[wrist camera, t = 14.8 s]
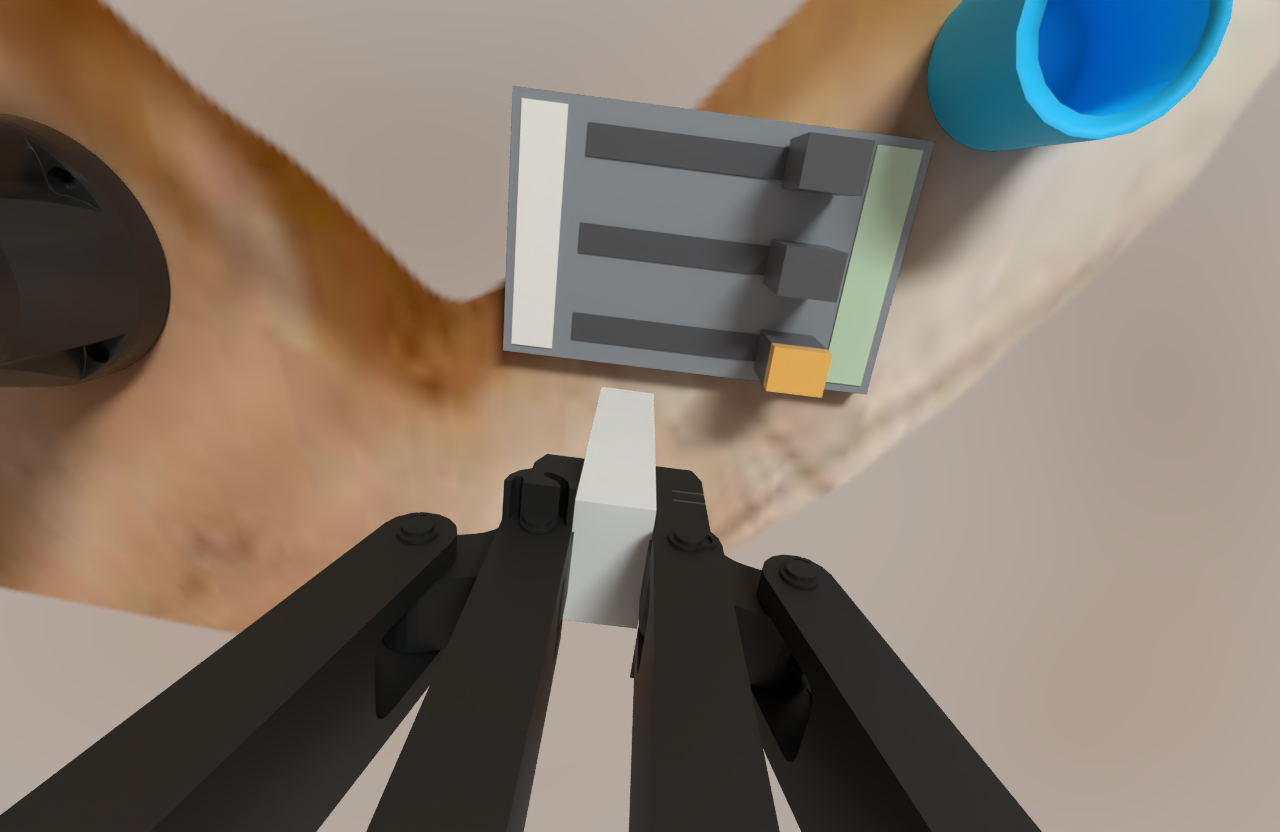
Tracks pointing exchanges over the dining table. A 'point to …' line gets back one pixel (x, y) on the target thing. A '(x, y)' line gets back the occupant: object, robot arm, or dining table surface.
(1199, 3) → the mug
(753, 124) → the panel
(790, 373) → the breaker
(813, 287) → the breaker
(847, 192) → the block
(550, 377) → the dining table surface
